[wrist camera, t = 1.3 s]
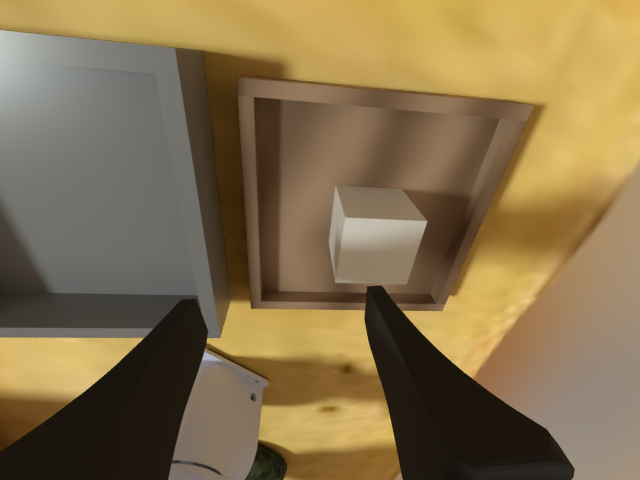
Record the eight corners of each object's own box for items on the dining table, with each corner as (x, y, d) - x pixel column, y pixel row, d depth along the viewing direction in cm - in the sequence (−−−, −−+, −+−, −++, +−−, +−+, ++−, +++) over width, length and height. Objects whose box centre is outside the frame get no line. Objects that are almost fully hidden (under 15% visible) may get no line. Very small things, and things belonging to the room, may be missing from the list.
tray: (511, 100, 17) (534, 105, 16) (432, 294, 26) (442, 311, 24) (243, 75, 16) (236, 77, 14) (254, 291, 24) (251, 308, 22)
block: (401, 189, 19) (427, 221, 15) (387, 244, 21) (406, 284, 18) (335, 185, 19) (345, 217, 15) (328, 242, 21) (335, 282, 17)
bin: (202, 50, 15) (174, 47, 11) (230, 299, 24) (220, 337, 21) (-201, 9, 13) (-374, -8, 10) (0, 296, 23) (-52, 337, 19)
